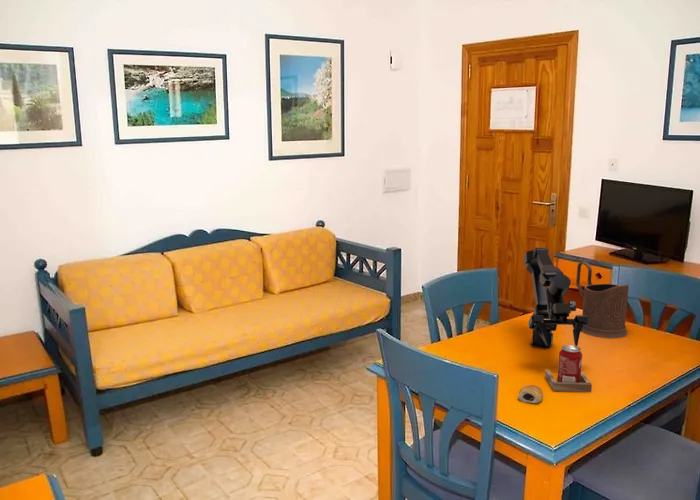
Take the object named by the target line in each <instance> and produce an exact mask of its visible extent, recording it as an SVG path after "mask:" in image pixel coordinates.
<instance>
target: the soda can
mask: <svg viewBox="0 0 700 500" xmlns="http://www.w3.org/2000/svg"><path fill="white" fill-rule="evenodd" d="M558 353H559V354H558V366H557V379H556V381H557V382H572V383H580V376H581V371H582V363H583V362H582V361H583V354H582V351H581V347H579V346H578V345H577V346H575V344H574V345H572V344H565V345H562V347H561V349H560V351H559V352H558Z"/></svg>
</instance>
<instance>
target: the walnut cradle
mask: <svg viewBox="0 0 700 500" xmlns="http://www.w3.org/2000/svg"><path fill="white" fill-rule="evenodd" d="M544 371H545V372H544V377H545V380H546V381H547V383H548V384H549V386H550V388H551V389H552V392H567V393H568V392H569V393H571V392H572V393H573V392H574V393H575V392H576V393H592V387H593V385H592V384H593V383H591V382H590V380H589V379H588V378H587V376H586V374H585V373H584V372H583V370H581V376H580V383H572V382H558V381H557V379H556V378H555V377H554V375H553V374H552V372H551V370H550V369H545V370H544Z"/></svg>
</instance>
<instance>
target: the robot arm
mask: <svg viewBox="0 0 700 500" xmlns="http://www.w3.org/2000/svg"><path fill="white" fill-rule="evenodd" d="M523 264H524V265H525V268H526V271H528V273H529V274H530V275H531V280H532V281H531V282H532V287H533V293H534V294H533V295H534V299H535V300H534V301H535V307H534V310H533V311H532V315H531V316H530V318H529V319H528V328H529V329H530V330H532V336H531V337H532V338H531V343H530V346H532V347H537V348H542V349H543V348H544V349H550V347H551V346H553V344H554V332H556V330H557V327H558V325H559V326H560V325H561V326H565V325H567V326H572V328H573V330H572V334H573V336H572V337H573V343H574V346H577V347H578V345H579V339H580V336H581V335H580V334H581V333H582V332H581V331H583V330H584V329H586V328H587V326H588V325H589V323H590V321H589V318H588V316H587V315H582V314H581V315H580V314H579V315H578V314H577V315H575V316H574V318H569V317H570V314H571V313H572V312H576V311H577V303H576V301H573V300H571V301H568V302H567V303H566V302H565V298H564V296H565V295H566V293H567V292H568V290H569V288H570V286H571V284H572V283H571V279H570V278H569V277H568V276H567V275H565V274H564V271H562V270H561V268H559V267H558V266H556V265H555V264H554V263H553V261H552V258H551V256H550V254H549V249H548V248H546V247H534V248H533V249H531V250H529V251H526V252H525V253H524V254H523Z"/></svg>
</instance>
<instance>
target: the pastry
mask: <svg viewBox="0 0 700 500" xmlns="http://www.w3.org/2000/svg"><path fill="white" fill-rule="evenodd" d="M517 398H518V400H519V401H520V402H524V403H530V404H540V403H541V402H542V401H543V398H544V392H543V390H542V388H541V387H539V386H537V385H535V384H529V385H528V384H527V385H524V386H522V388H520V390H519V392H518V395H517Z"/></svg>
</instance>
